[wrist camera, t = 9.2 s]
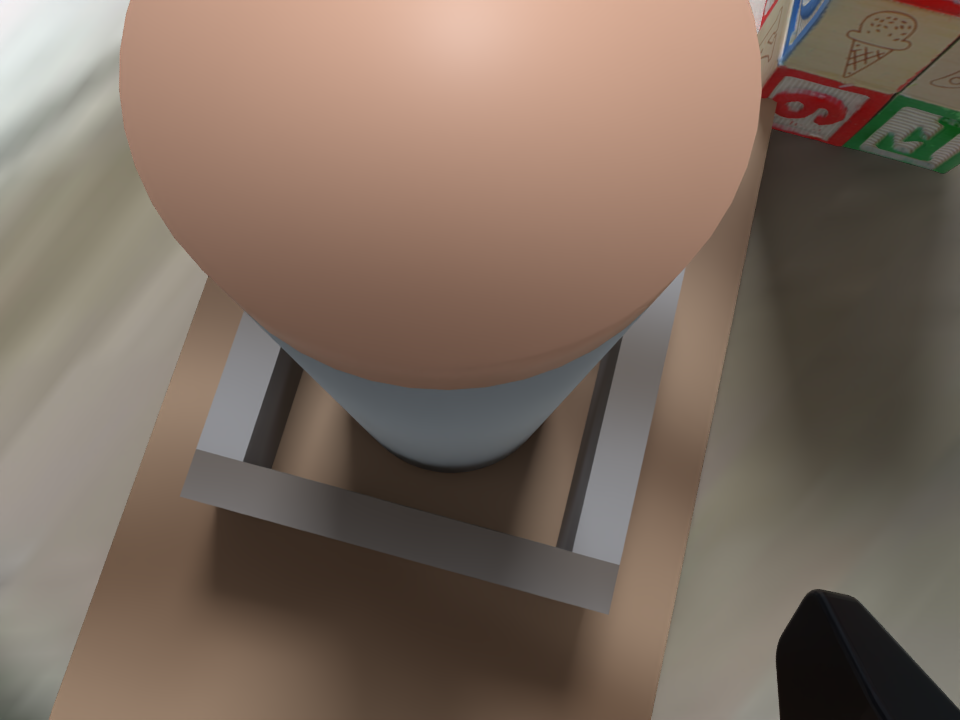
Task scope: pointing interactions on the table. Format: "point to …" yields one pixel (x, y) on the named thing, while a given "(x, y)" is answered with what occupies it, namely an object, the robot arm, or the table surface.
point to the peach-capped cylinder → (442, 186)
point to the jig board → (409, 536)
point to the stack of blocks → (867, 75)
